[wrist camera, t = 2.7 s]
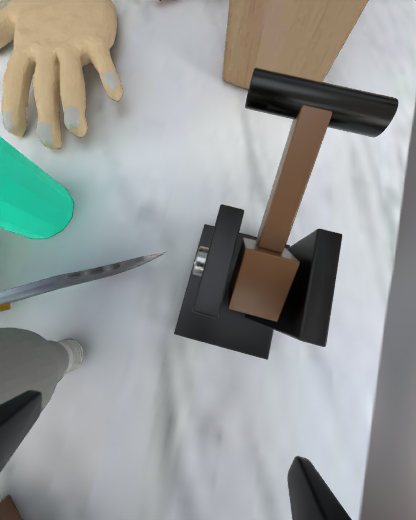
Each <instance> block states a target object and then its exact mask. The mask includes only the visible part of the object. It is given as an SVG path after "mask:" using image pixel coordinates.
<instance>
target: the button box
mask: <svg viewBox="0 0 416 520" xmlns="http://www.w3.org/2000/svg"><path fill="white" fill-rule="evenodd" d="M0 520H21V518H20V516H19V514H18V512H17V510H16V508H15V506H14V504H13V502H12V500H11V498H10V496H9V495H7V496H6V497H5V498H3V499H2V500H1V501H0Z"/></svg>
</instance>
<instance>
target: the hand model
mask: <svg viewBox="0 0 416 520" xmlns="http://www.w3.org/2000/svg"><path fill="white" fill-rule="evenodd" d="M117 22H118V21H117V16H116V8H115V5H114V3H113V2H112V1H111V0H12V1H11V2H10V3H9V5H8V6H7V7H5V8H3V9H1V10H0V49H1V48H3V47H4V46H6V45H7V44H8V43H9V42H10V41H12V40H13V39H14V49H13V53H12V56H11V58H10V60H9V62H8V64H7V68H6V71H5V74H4V80H3V100H2V120H3V125H4V128H5V129H6V130H7V131H8V132H10V133H12V134H13V135H16V136H18V137H22V136H23V135H24V133H25V130H26V127H27V119H26V108H27V106H28V99H29V89H30V85H31V81H32V77H33V74H34V77H33V89H34V97H35V102H36V107H37V111H38V123H37V126H36V128H37V135H38V138H39V141H40V142H41V143H42V144H43V145H44V146H46V147H48V148H50V149H59V148H61V146H62V141H61V127H60V121H59V110H60V101H59V99H60V96H61V101H62V106H63V112H64V124H65V126H66V128H67V129H68V130H69V131H70V132H71V133H73V134H74V135H76V136H79V137H83V136H84V135H85V134H86V133H87V130H88V125H87V121H86V118H85V110H86V104H85V101H86V94H85V83H84V76H83V71H82V67H83V66H84V65H86V64H89V63H92V64H93V65H94V67H95V69H96V70H97V71H98V72H99V74H100V78H101V81H102V84H103V87H104V89H105V91H106V93H107V95H108V96H109V97H110V98H111V99H113V100H115V101H119V100H120V99H121V97H122V95H123V88H122V86H121V82H120V78H119V76H118V74H117V71H116V70H115V67H114V64H113V61H112V59H111V56H110V51H109V49H110V48H111V47H112V46H113V44H114V41H115V37H116V29H117Z"/></svg>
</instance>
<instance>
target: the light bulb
mask: <svg viewBox="0 0 416 520" xmlns="http://www.w3.org/2000/svg"><path fill="white" fill-rule="evenodd" d="M82 359H83V349H82V347H81V345H80V344H79V343H78V342H77V341H75V340H72V339H66V340H62V341H59V342H55V341H47V340H45V339H44V338H42V337H41V336H40V335H38V334H36V333H34V332H32V331H28V330H23V329H18V328H0V404H2V403H4V402H6V401H8V400H10V399H12V398H14V397H16V396H18V395H20V394H22V393H23V392H25V391H28V390H36V391H40V392H42V395H43V396H42V409H41V412H42V410H43V409H44V408H45V406H46V405H47V403H48V402H49V400H50V398H51V396H52V394H53V392H54V390H55V387H56V384H57V383H58V382H59V381H60V380H61V379H62V377H63V376H64V375H65V374H67V373H68V372H71V371H73V370H74V369H76V368H77V367H78V366H79V365H80V363H81V362H82Z"/></svg>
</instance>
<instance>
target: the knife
mask: <svg viewBox="0 0 416 520" xmlns="http://www.w3.org/2000/svg"><path fill="white" fill-rule="evenodd" d="M164 253H166V252H164ZM164 253H159V254H153V255H148V256H142V257H138V258H135V259H131V260H127V261H123V262H119V263H115V264H111V265H107V266H103V267H98V268H94V269H89V270H84V271H79V272H74V273H68V274H63V275H58V276H54V277H51V278H47V279H44V280H40V281H37V282H33V283H30V284H26V285H23V286H19V287H16V288H12V289H9V290H5V291H2V292H0V311H3V310H8V309H10V303H11V302H14V301H18V300H21V299H25V298H28V297H32V296H35V295H39V294H42V293H46V292H49V291H53V290H57V289H60V288H64V287H68V286H72V285H76V284H80V283H84V282H89V281H93V280H97V279H101V278H105V277H108V276H112V275H115V274H118V273H122V272H124V271H127V270H130V269H133V268H135V267H138V266H140V265H143V264H145V263H147V262H149V261H151V260H153V259H155V258H157V257H159V256H161V255H162V254H164Z"/></svg>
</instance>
